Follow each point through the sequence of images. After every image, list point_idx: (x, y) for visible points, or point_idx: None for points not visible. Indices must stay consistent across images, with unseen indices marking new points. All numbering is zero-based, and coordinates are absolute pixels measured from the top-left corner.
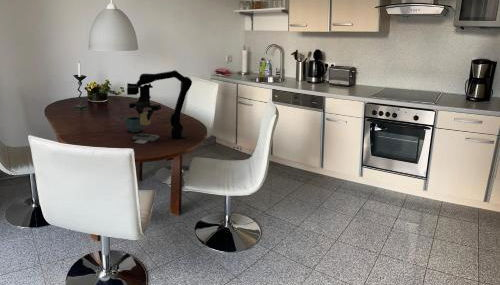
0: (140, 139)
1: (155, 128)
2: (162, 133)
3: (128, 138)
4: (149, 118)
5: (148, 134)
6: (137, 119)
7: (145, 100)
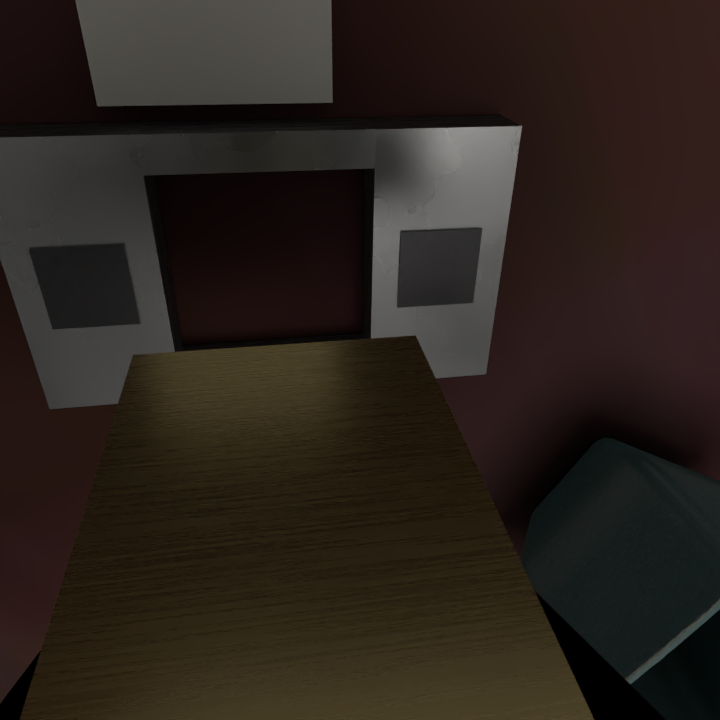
0: (298, 85)
1: None
2: None
3: (588, 117)
4: None
5: None
6: (670, 707)
7: None
